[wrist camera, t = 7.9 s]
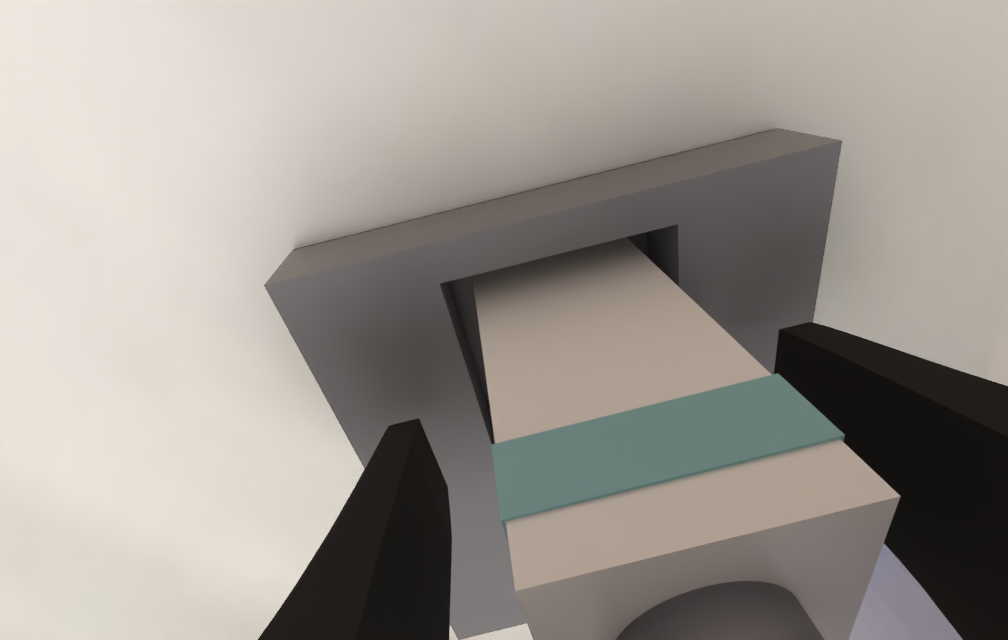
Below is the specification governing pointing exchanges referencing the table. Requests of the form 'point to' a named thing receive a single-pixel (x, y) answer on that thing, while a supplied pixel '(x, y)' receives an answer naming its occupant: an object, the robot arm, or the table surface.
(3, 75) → the table surface
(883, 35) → the table surface
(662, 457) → the beige tall block
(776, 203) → the socket panel
